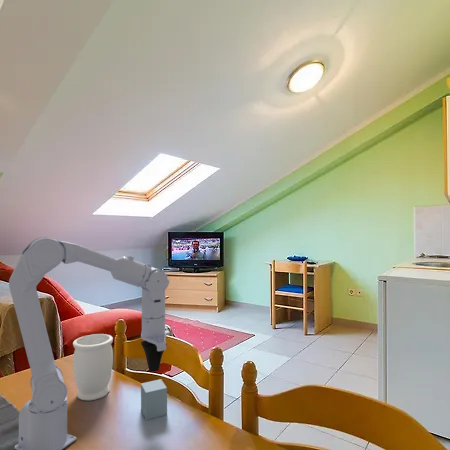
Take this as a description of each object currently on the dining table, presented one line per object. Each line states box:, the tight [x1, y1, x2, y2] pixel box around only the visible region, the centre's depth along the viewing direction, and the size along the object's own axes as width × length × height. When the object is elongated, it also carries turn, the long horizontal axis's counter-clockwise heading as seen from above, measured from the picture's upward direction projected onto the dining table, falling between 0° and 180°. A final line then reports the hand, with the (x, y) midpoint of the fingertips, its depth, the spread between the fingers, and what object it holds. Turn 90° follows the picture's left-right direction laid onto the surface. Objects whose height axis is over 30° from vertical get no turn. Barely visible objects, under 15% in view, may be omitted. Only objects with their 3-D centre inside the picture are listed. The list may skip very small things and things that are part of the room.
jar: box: [72, 333, 114, 401], centre depth 92 cm, size 11×10×15 cm
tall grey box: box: [140, 378, 168, 421], centre depth 83 cm, size 5×5×7 cm
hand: (153, 370), depth 83 cm, fingers closed
